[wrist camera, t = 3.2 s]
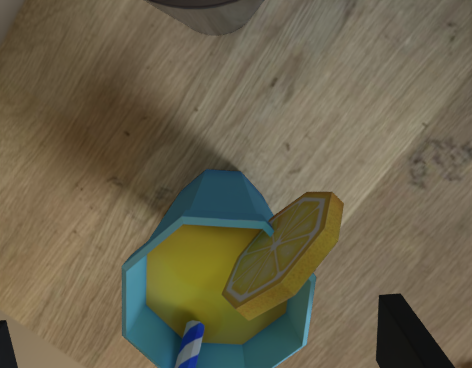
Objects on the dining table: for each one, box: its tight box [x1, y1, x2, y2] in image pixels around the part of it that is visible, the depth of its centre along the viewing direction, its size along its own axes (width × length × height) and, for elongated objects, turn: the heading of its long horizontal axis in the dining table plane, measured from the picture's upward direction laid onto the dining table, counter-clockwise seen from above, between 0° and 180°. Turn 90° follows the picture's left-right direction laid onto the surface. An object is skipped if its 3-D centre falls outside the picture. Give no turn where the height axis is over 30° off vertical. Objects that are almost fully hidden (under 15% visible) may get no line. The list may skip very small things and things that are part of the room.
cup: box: [122, 169, 344, 368], centre depth 19 cm, size 14×8×15 cm, turn 153°
